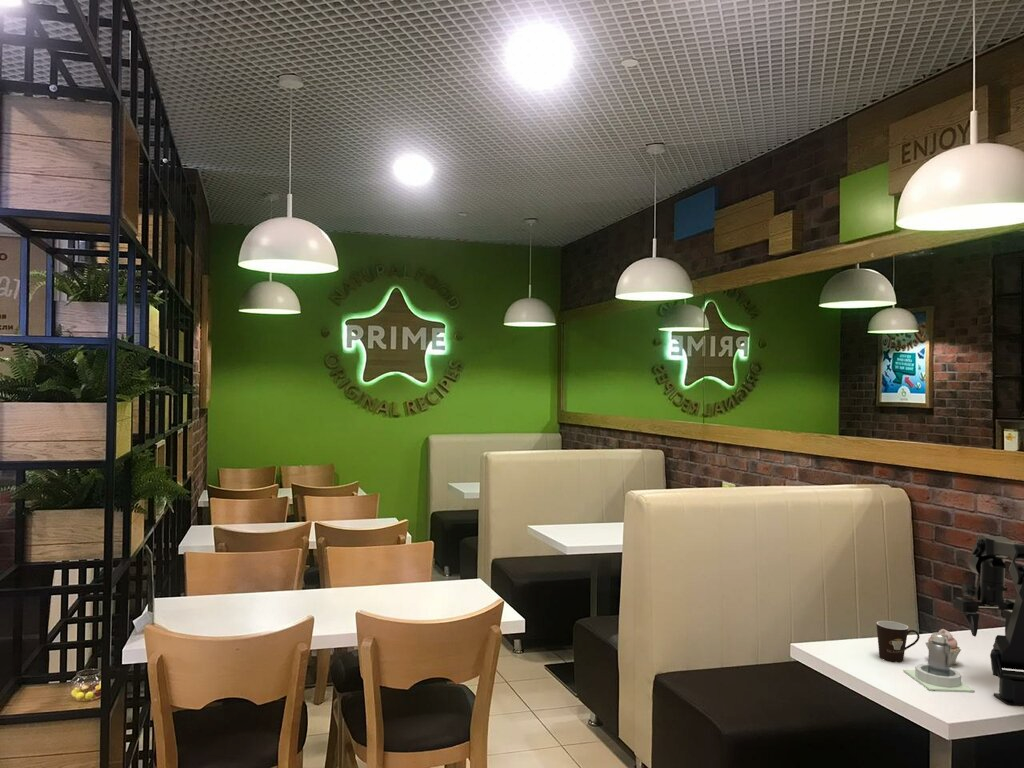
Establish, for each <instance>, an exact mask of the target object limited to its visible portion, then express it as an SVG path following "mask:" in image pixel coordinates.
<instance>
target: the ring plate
mask: <svg viewBox="0 0 1024 768" xmlns="http://www.w3.org/2000/svg"><path fill="white" fill-rule="evenodd" d="M903 671H904V672H903V673H905V674H906V673H907V674H906V675H908V676H909V677H910V676H911V677H910V678H912V679H913V678H914V679H915V681H916V682H917V681H918V682H919V683H918V682H917V683H918V684H920V685H921V684H922V685H923V687H924V688H925V687H926V688H927V689H926V688H925V689H926V690H928V691H929V690H935V691H934V692H952V691H953V693H954V692H955V691H957V692H955V693H975V689H973V688H972V687H970V686H969V685H967V684H965V683H964V682H963V681H962V674H961V672H959V671H958V670H956V669H954V668H952V667H950V674H949V676H948V677H946V676H938V675H934V674H930V673H928V663H918V664H916V665H915V667H914V669H903ZM914 679H913V680H914ZM922 685H921V686H922Z"/></svg>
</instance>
